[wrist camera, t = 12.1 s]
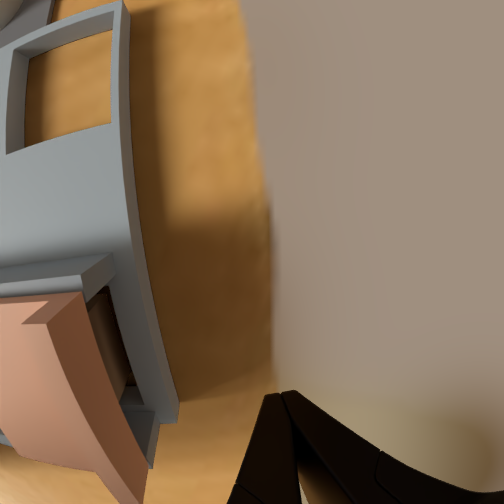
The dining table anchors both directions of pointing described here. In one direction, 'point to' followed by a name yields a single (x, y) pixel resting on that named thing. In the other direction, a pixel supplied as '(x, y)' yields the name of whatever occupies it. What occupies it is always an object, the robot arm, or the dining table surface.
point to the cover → (64, 394)
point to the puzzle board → (83, 215)
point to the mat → (27, 20)
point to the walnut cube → (108, 342)
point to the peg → (8, 11)
